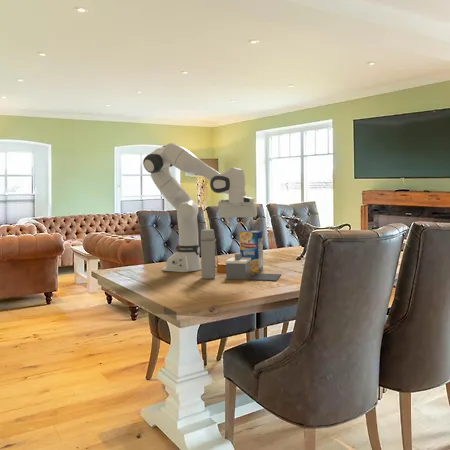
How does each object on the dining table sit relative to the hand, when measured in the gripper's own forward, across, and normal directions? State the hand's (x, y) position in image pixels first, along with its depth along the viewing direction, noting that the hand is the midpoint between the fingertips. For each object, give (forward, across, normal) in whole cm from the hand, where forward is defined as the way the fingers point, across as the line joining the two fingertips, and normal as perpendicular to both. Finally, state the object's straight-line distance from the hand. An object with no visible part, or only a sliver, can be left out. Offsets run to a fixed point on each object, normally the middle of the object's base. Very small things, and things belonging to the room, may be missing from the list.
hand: (238, 226), depth 244 cm
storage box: (+26, 0, -1) cm, 26 cm away
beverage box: (+27, +2, +18) cm, 32 cm away
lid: (+20, 0, -1) cm, 20 cm away
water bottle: (+26, -14, -6) cm, 31 cm away
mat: (+27, +14, 0) cm, 30 cm away
